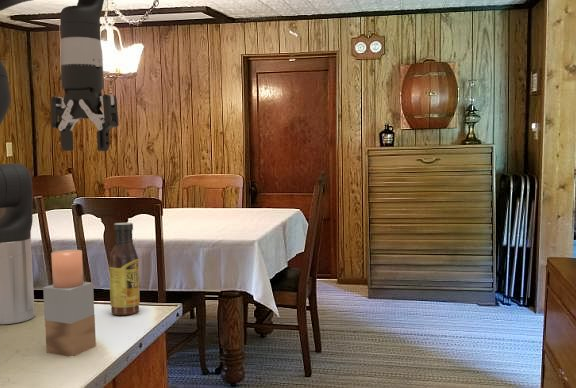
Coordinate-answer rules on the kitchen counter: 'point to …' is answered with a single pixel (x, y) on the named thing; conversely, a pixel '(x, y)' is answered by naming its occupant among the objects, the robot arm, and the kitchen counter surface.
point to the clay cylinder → (67, 268)
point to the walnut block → (70, 336)
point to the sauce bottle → (124, 272)
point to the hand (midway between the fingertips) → (85, 150)
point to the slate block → (68, 303)
